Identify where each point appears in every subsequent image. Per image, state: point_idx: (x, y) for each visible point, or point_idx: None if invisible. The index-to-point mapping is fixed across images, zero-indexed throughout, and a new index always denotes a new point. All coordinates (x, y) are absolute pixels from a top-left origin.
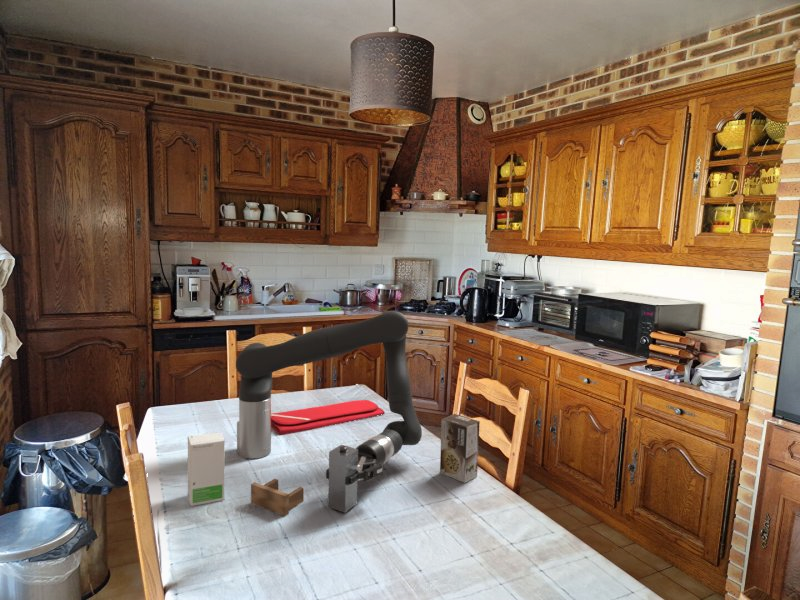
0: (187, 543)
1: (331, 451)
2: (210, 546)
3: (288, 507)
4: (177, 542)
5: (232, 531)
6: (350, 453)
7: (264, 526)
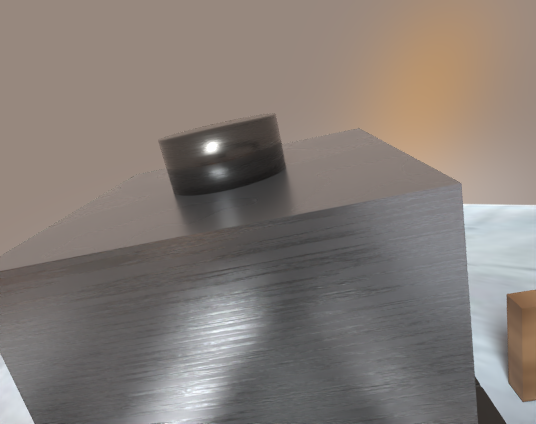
0: (511, 219)
1: (345, 133)
2: (465, 235)
3: (522, 371)
4: (529, 212)
5: (507, 266)
6: (106, 197)
7: (477, 315)
